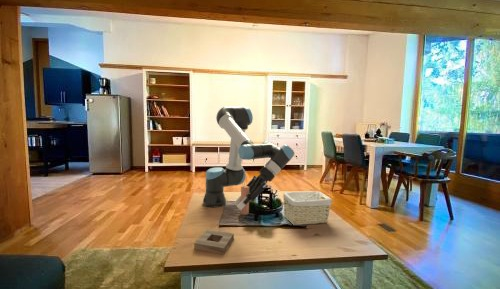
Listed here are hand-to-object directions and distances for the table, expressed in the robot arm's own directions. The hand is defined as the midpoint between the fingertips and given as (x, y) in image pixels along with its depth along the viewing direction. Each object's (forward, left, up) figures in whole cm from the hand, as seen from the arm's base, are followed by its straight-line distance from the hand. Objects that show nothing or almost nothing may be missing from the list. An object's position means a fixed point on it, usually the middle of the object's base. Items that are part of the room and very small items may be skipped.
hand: (237, 206), depth 126 cm
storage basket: (-33, +32, -16) cm, 49 cm away
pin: (-2, +3, -4) cm, 5 cm away
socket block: (+9, -8, -16) cm, 20 cm away
